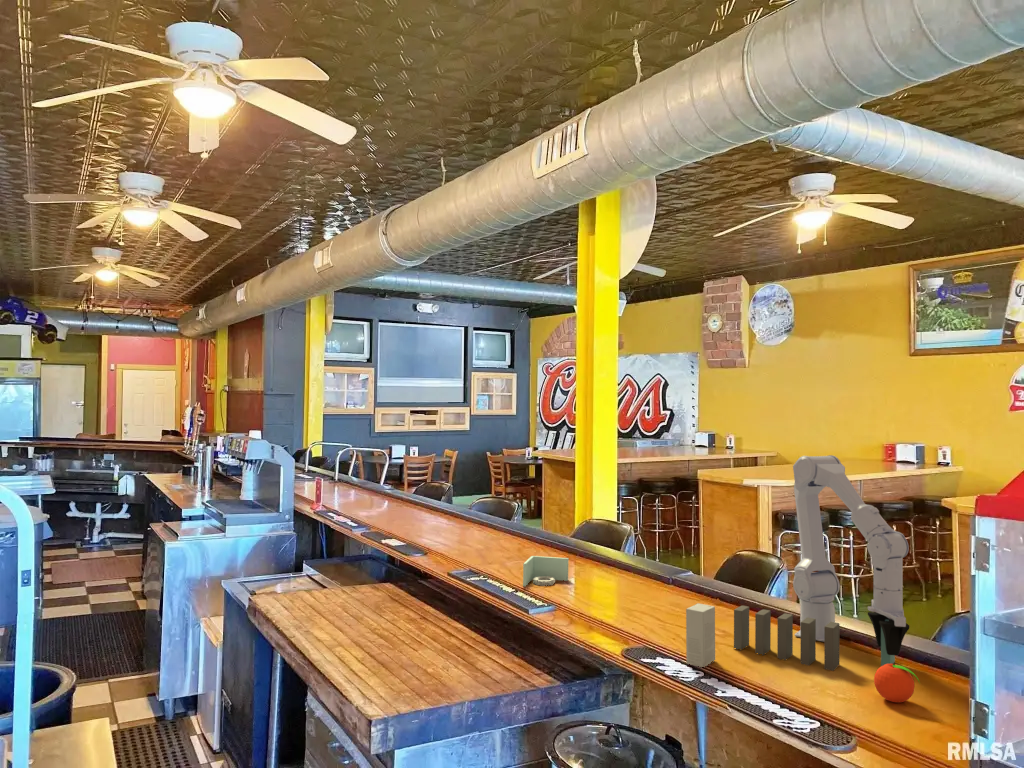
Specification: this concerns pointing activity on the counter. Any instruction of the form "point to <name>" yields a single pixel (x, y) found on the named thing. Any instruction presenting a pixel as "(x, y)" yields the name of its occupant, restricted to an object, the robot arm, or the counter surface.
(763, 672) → the counter surface
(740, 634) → the domino
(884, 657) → the domino
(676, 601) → the counter surface
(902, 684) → the clementine
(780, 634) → the domino
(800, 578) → the robot arm
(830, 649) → the domino
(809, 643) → the domino
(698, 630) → the skincare box
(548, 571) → the l-shaped corner panel
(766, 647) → the domino
